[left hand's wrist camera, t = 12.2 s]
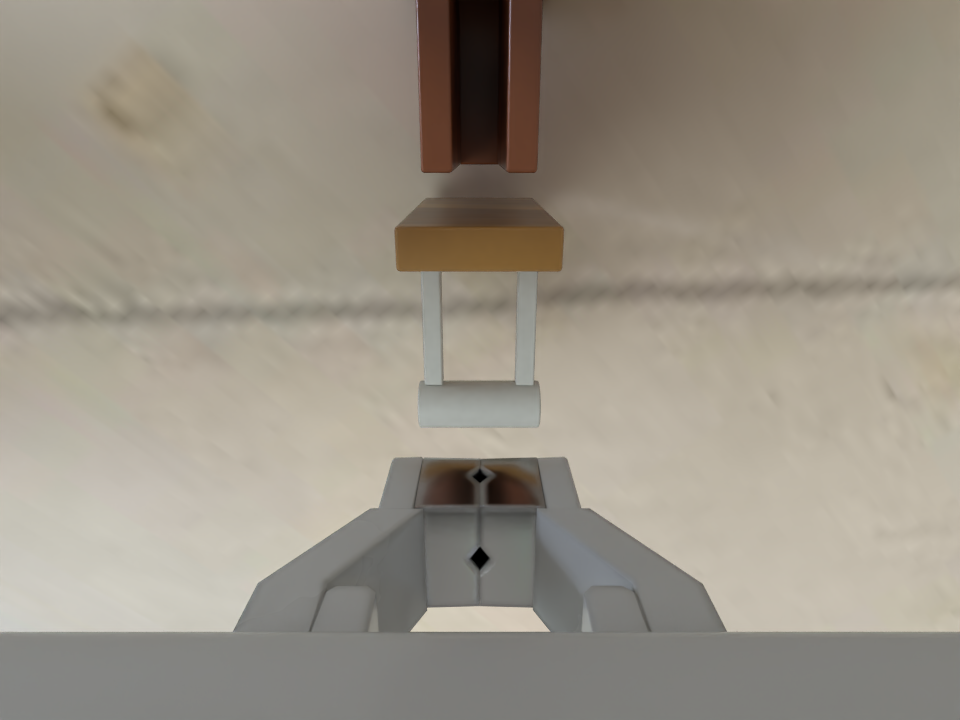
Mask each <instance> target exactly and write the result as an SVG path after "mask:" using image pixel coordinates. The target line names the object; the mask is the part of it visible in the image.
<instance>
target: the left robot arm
mask: <svg viewBox="0 0 960 720" xmlns="http://www.w3.org/2000/svg"><path fill="white" fill-rule="evenodd" d="M461 606H497V607H533V610H534V612H535V613H536V614H537V615H538V617H539V618H540V619H541V620H542V622H543V623H544V624H545V625H546V627H547V628H548V629H549V630H550V631H551V632H410V631H411V629H412V628H413V627H414V626H415V625H416V623H417V622H418V621H419V620H420V618H421V617H422V616H423V615H424V614H425V612H426V611H427V607H461ZM0 720H960V632H727V631H726V629H725V627H724V625H723V623H722V621H721V619H720V617H719V615H718V613H717V611H716V609H715V607H714V605H713V603H712V601H711V599H710V597H709V595H708V593H707V591H706V589H705V588H704V586H703V584H702V583H700V582H699V581H697V580H696V579H694V578H693V577H691V576H690V575H688V574H687V573H685V572H684V571H682V570H681V569H679V568H678V567H676V566H675V565H673V564H672V563H670V562H669V561H667V560H666V559H664V558H663V557H661V556H660V555H658V554H657V553H655V552H654V551H652V550H651V549H650V548H648V547H647V546H645V545H644V544H642V543H641V542H639V541H638V540H636V539H635V538H633V537H632V536H630V535H629V534H627V533H626V532H624V531H623V530H621V529H620V528H618V527H617V526H615V525H614V524H612V523H611V522H609V521H608V520H606V519H605V518H603V517H602V516H600V515H599V514H597V513H596V512H594V511H593V510H591V509H586V508H581V505H580V502H579V498H578V495H577V491H576V488H575V485H574V481H573V478H572V474H571V471H570V467H569V464H568V460H567V459H566V458H565V457H550V458H498V459H471V458H424V459H423V458H422V457H401V458H394V459H393V460H392V463H391V467H390V470H389V474H388V477H387V481H386V484H385V488H384V491H383V495H382V498H381V502H380V505H379V508H374V509H369V510H367V511H366V512H364V513H363V514H361V515H360V516H358V517H357V518H355V519H354V520H352V521H351V522H349V523H348V524H346V525H345V526H343V527H342V528H340V529H339V530H337V531H336V532H334V533H333V534H331V535H330V536H328V537H327V538H325V539H324V540H322V541H321V542H319V543H318V544H316V545H315V546H313V547H312V548H310V549H309V550H307V551H306V552H304V553H303V554H301V555H300V556H298V557H297V558H295V559H294V560H292V561H291V562H289V563H288V564H286V565H285V566H283V567H282V568H280V569H279V570H277V571H276V572H274V573H273V574H271V575H270V576H268V577H267V578H265V579H264V580H262V581H261V582H259V583H258V584H257V586H256V588H255V590H254V592H253V594H252V596H251V598H250V600H249V602H248V604H247V605H246V607H245V609H244V611H243V613H242V615H241V617H240V619H239V621H238V623H237V625H236V627H235V629H234V631H233V632H0Z"/></svg>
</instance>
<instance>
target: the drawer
mask: <svg viewBox="0 0 960 720" xmlns="http://www.w3.org/2000/svg"><path fill="white" fill-rule="evenodd" d="M542 10H543V0H416V23H417V54H418V85H419V115H420V146H421V170H422V172H424V173H450V172H452V171H453V170H454V169H455V168H456V167H458V166H459V165H460V164H499V165H500V166H501V167H502V168H503V169H505V170H506V171H507V172H509V173H534V172H536V171H537V163H538V132H539V102H540V71H541V40H542ZM563 241H564V229H563V227H562V226H561V225H560V224H559V223H558V222H557V221H556V220H555V219H554V218H552V217H551V216H550V215H549V214H548V213H547V212H546V211H545V210H544V209H543V208H542V207H541V206H540V205H539V204H538V203H537V202H536V201H535V200H534V199H532V198H426V199H425V200H424V201H423V202H422V203H421V204H420V205H419V206H418V207H416V208H415V209H414V210H413V211H412V212H411V213H410V214H409V215H408V216H407V217H406V218H405V219H404V220H403V221H402V222H401V223H400V224H399V225H398V226H396V227H395V251H396V268H397V270H398V271H410V272H421V292H422V321H423V350H424V379H425V381H420V384H419V390H418V421H419V426H420V427H421V428H537V427H539V424H540V412H541V399H540V386H539V382H538V381H534V365H535V337H536V308H537V280H538V272H558V271H561V269H562V261H563ZM441 272H517V303H516V347H515V381H443V379H444V372H443V327H442V283H441Z"/></svg>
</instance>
